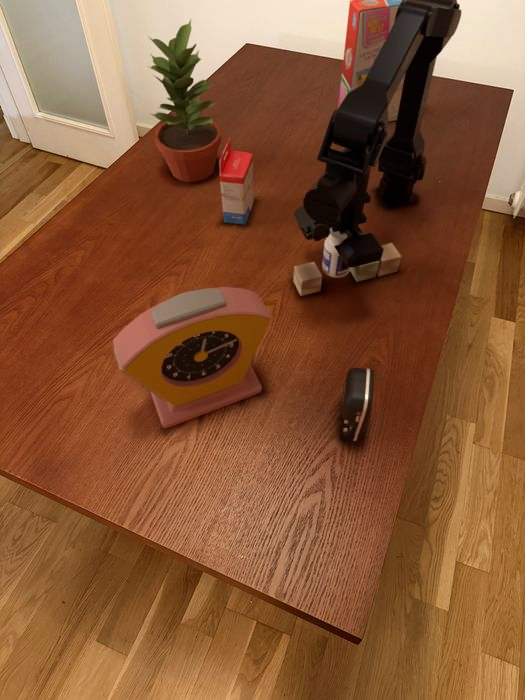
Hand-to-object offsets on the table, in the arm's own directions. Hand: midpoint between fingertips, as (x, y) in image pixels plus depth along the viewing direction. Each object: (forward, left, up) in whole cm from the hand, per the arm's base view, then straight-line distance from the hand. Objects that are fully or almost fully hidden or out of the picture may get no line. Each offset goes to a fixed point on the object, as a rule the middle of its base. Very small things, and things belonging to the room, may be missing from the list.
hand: (337, 258), depth 92 cm
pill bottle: (0, 0, -3) cm, 3 cm away
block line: (-2, 0, -5) cm, 6 cm away
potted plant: (+18, -43, -6) cm, 47 cm away
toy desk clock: (+30, +16, -6) cm, 34 cm away
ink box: (+12, -25, -6) cm, 28 cm away
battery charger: (+10, +29, -6) cm, 31 cm away
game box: (-32, -49, -6) cm, 59 cm away
